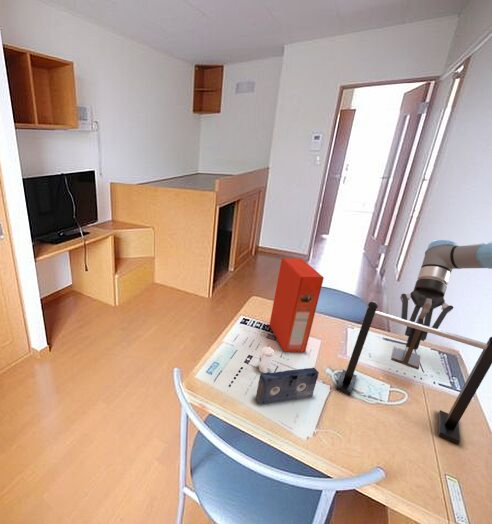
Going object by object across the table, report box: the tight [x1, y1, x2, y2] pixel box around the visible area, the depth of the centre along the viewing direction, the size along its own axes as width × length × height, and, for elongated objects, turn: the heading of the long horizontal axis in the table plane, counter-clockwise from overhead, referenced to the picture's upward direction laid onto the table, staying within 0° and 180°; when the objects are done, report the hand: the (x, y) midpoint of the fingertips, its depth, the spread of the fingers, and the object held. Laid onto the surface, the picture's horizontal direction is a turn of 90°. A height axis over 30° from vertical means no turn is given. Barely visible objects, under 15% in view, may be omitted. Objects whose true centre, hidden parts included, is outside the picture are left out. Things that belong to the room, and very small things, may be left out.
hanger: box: [390, 298, 432, 370], centre depth 98 cm, size 7×8×22 cm
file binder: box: [268, 257, 325, 353], centre depth 118 cm, size 8×17×32 cm, turn 177°
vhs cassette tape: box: [255, 367, 320, 405], centre depth 94 cm, size 18×3×10 cm, turn 98°
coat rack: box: [335, 301, 492, 446], centre depth 88 cm, size 29×10×32 cm, turn 48°
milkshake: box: [258, 342, 275, 374], centre depth 106 cm, size 4×5×10 cm
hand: (411, 347), depth 96 cm, fingers closed on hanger
